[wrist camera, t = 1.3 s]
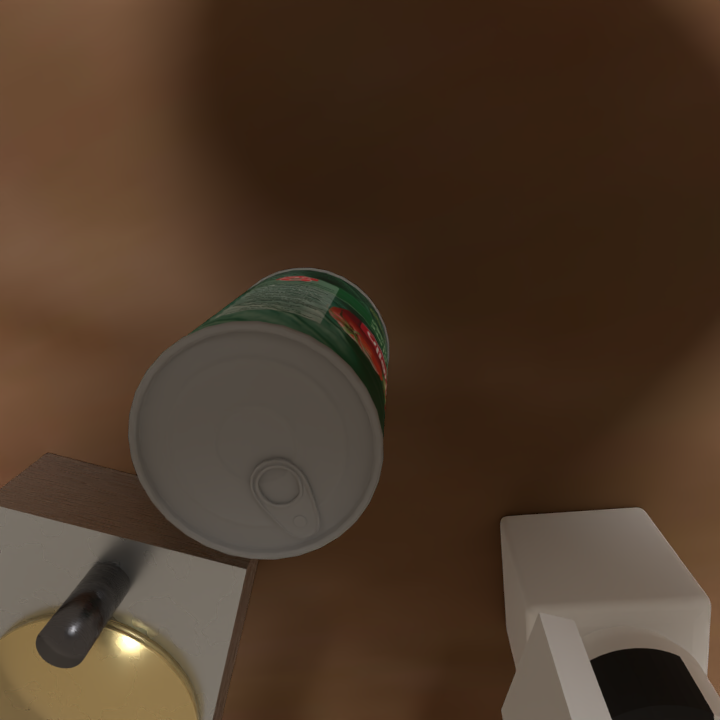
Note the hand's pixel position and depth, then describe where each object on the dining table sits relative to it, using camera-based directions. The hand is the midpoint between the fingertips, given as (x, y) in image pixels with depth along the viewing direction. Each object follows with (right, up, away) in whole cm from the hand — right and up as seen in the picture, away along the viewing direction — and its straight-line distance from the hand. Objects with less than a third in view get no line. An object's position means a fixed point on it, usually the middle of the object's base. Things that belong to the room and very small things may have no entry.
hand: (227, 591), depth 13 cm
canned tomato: (0, +6, +16) cm, 17 cm away
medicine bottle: (+14, -6, +19) cm, 24 cm away
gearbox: (-10, -11, +21) cm, 26 cm away
